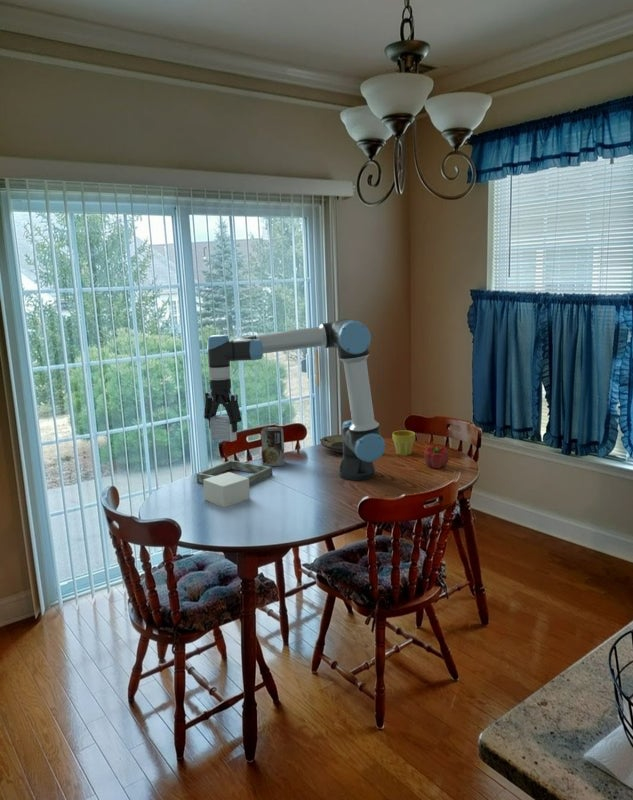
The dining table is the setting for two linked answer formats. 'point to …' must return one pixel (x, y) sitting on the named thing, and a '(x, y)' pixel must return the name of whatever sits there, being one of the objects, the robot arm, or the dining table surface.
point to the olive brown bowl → (333, 443)
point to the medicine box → (220, 428)
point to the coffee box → (273, 446)
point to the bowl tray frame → (259, 470)
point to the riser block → (226, 489)
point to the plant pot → (403, 441)
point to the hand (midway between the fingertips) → (223, 439)
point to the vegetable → (436, 456)
